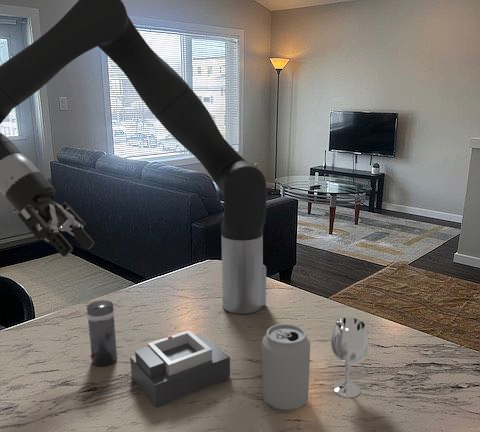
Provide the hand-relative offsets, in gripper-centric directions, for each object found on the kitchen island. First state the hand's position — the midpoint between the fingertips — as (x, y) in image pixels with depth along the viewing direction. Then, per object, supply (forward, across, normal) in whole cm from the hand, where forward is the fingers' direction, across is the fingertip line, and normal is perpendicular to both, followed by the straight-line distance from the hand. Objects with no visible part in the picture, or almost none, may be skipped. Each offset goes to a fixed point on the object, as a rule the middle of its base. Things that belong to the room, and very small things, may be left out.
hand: (80, 249), depth 86 cm
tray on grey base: (+29, -3, 0) cm, 29 cm away
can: (+42, -6, -12) cm, 44 cm away
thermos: (+18, +1, +11) cm, 21 cm away
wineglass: (+49, -3, -20) cm, 53 cm away
